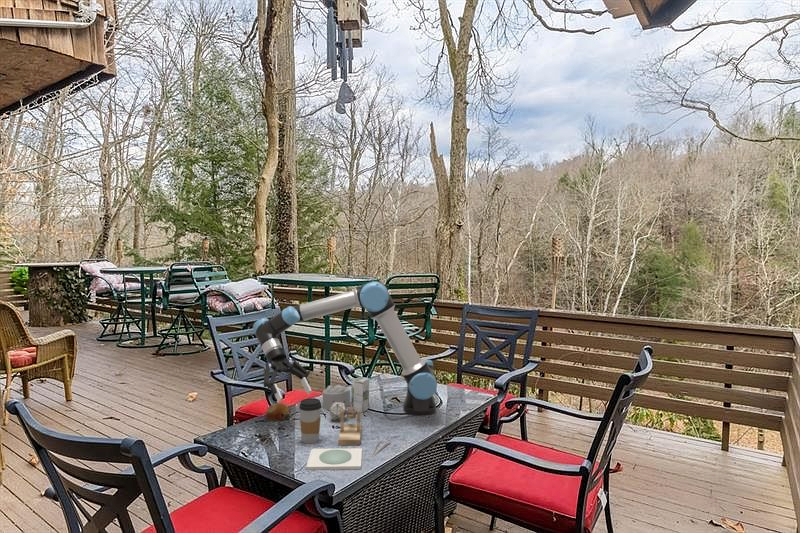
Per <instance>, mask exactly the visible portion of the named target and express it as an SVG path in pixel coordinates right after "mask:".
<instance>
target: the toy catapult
mask: <svg viewBox="0 0 800 533" xmlns="http://www.w3.org/2000/svg"><path fill="white" fill-rule="evenodd" d="M344 415H345V416H346V418H347V419H350V420H354V419H356V423H345V417H344ZM339 421H340V426H339V427H340V430H339V434H338V439H337V440H338V441H337V445H338V446H361V445H360V444H361V435H362V423H361V413H360V410H357V411H355V409H354V408H353V407H352V406H351V407H349V408H348V409H347V411H344V410H341V420H339Z"/></svg>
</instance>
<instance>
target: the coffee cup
mask: <svg viewBox="0 0 800 533" xmlns="http://www.w3.org/2000/svg"><path fill="white" fill-rule="evenodd" d="M321 410H322V403H321V400H320V399H319V398H314V397H310V398H303V399H302V400H301V401H300V402H299V420H300V421H299V422H300V433H301V436H300V437H301V441H302V443H305V444H315V443H317V442H318V441H319V438H320V426H321V418H322V417H321Z"/></svg>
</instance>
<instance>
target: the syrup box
mask: <svg viewBox="0 0 800 533" xmlns="http://www.w3.org/2000/svg"><path fill="white" fill-rule="evenodd" d="M351 384H352V386H351V387H352V388H351V390H352V391H351V407H353V408H354V409H355V411H357V410H360V414H363V413H365V412H367V411H368V410H369V402H370V378H367V377H363V376H359V377H357V378H354V379H352V383H351Z"/></svg>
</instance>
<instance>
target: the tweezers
mask: <svg viewBox="0 0 800 533" xmlns="http://www.w3.org/2000/svg"><path fill="white" fill-rule="evenodd" d="M381 443H383V440H378V441H377V443H376V445H375V448H374V450H373V453H372V454H371V459H373V458H374V457H375V456H376V455H377V454H379V452H380V451H382V450H383V449H384V448H386V447H387V446H388V444H389V445H390V444H391V441H387V442H386V443H385V444H384V445H383V446H381V448H379V449H378V448H377V447H379V445H380V444H381ZM386 445H387V446H386ZM385 446H386V447H385ZM377 449H378V450H377Z"/></svg>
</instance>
